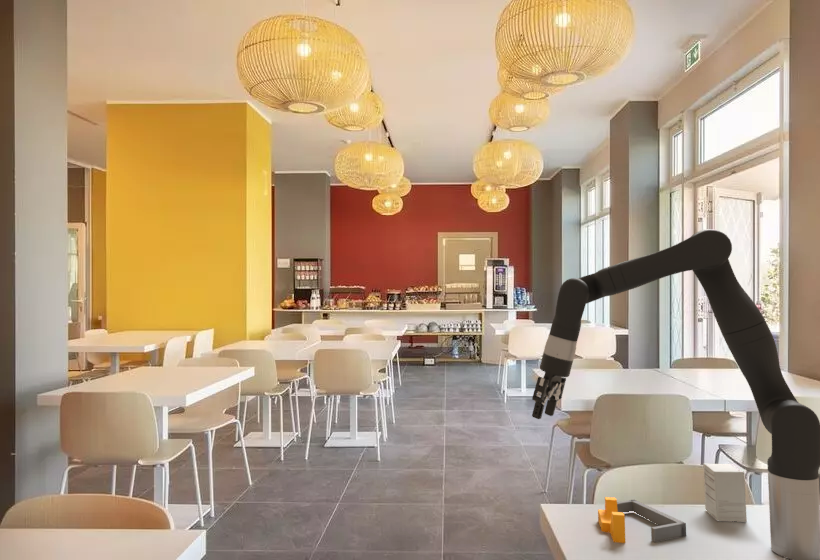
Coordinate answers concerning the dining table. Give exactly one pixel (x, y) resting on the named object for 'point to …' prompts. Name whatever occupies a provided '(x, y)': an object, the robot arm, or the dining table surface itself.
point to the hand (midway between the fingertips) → (542, 416)
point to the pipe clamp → (612, 520)
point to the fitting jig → (655, 520)
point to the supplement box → (725, 492)
